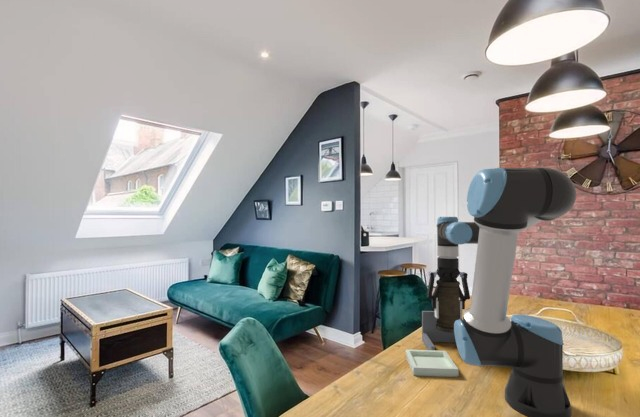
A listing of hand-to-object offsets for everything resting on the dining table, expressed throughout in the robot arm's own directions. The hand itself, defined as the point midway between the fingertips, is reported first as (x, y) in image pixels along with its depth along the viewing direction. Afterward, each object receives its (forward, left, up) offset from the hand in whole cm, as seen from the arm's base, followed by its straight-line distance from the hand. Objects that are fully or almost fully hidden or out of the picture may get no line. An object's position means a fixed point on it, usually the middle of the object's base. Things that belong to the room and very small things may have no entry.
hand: (448, 317), depth 126 cm
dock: (+2, 0, -12) cm, 12 cm away
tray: (-13, +10, -12) cm, 21 cm away
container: (0, 0, -5) cm, 5 cm away
